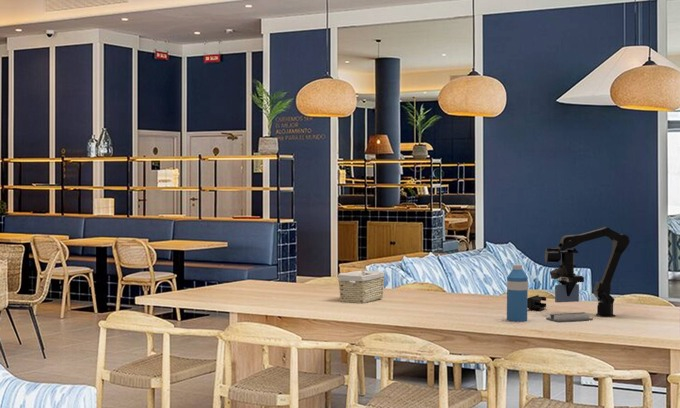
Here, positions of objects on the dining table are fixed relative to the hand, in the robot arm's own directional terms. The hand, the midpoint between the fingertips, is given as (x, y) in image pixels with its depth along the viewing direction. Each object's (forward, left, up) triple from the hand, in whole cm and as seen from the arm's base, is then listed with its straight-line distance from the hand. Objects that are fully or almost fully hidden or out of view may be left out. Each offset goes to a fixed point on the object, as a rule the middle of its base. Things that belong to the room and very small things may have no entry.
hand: (567, 295), depth 439 cm
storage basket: (+70, -83, -10) cm, 109 cm away
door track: (+7, +12, -9) cm, 17 cm away
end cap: (+3, -22, -10) cm, 24 cm away
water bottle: (+30, +5, -10) cm, 32 cm away
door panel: (0, 0, -3) cm, 3 cm away
